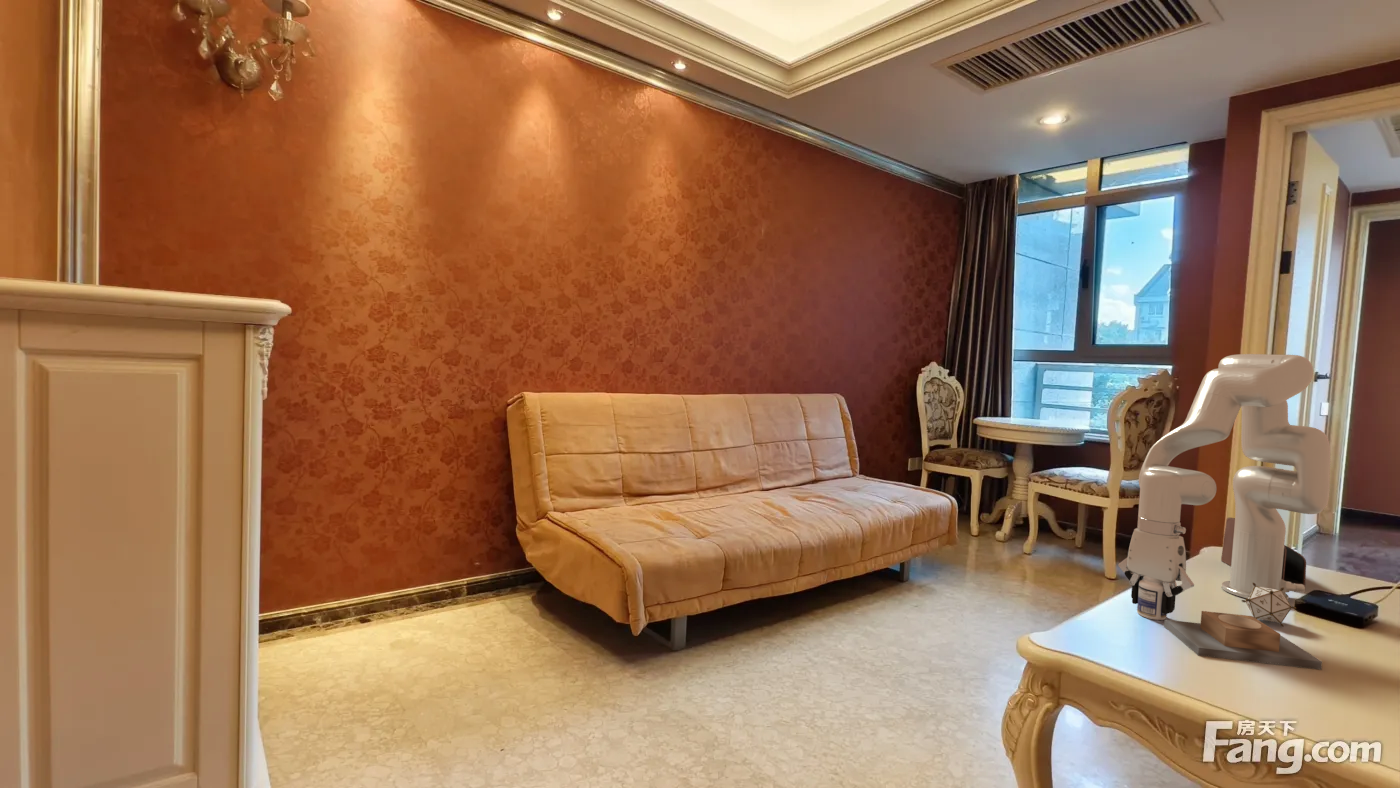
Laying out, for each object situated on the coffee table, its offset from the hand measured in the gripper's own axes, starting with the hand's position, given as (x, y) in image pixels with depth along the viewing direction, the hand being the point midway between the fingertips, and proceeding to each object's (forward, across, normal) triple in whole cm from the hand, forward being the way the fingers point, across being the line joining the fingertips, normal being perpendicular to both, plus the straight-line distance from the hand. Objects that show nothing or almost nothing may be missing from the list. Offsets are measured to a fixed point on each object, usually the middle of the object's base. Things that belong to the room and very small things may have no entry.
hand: (1152, 606), depth 145 cm
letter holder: (+2, +6, -62) cm, 62 cm away
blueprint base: (+2, -16, +1) cm, 17 cm away
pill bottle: (+2, 0, 0) cm, 2 cm away
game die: (+2, -12, -21) cm, 24 cm away
